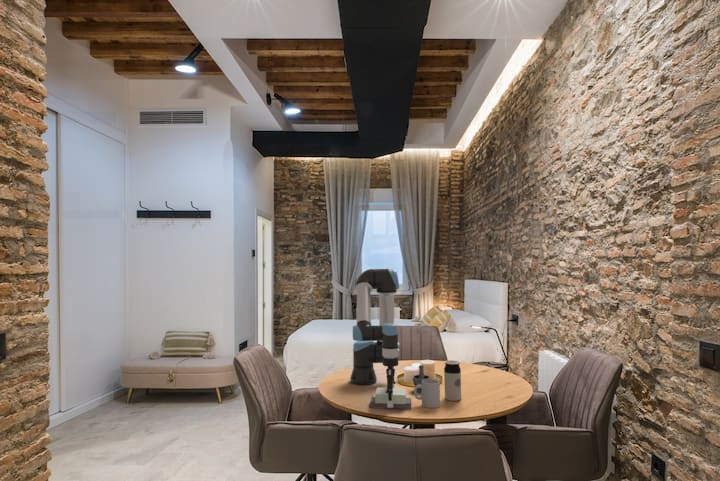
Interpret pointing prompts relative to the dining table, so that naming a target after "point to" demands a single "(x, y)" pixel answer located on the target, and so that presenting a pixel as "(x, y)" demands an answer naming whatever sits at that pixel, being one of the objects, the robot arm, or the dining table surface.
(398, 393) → the lid
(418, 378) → the mortar and pestle
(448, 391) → the travel mug
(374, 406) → the mat
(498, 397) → the dining table surface
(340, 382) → the dining table surface
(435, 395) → the mug
